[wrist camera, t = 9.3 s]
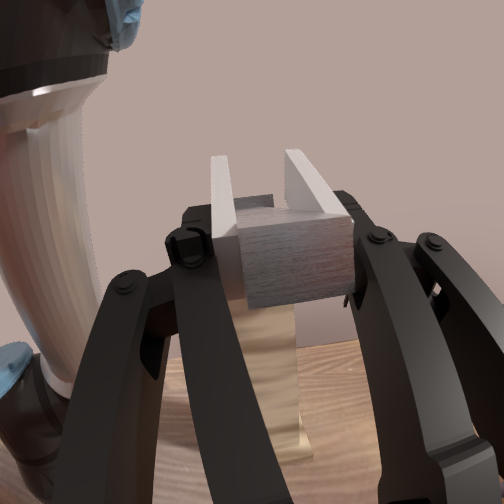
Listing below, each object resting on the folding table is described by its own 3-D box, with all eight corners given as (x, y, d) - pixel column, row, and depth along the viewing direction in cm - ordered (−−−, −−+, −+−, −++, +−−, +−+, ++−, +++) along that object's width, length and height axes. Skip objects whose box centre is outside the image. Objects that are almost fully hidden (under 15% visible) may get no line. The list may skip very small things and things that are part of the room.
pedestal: (312, 460, 34) (310, 265, 29) (231, 472, 33) (188, 279, 28) (295, 406, 48) (284, 245, 42) (230, 415, 47) (201, 254, 42)
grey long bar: (387, 286, 7) (381, 174, 7) (207, 315, 7) (189, 191, 7) (268, 223, 31) (265, 195, 30) (223, 229, 31) (219, 201, 30)
